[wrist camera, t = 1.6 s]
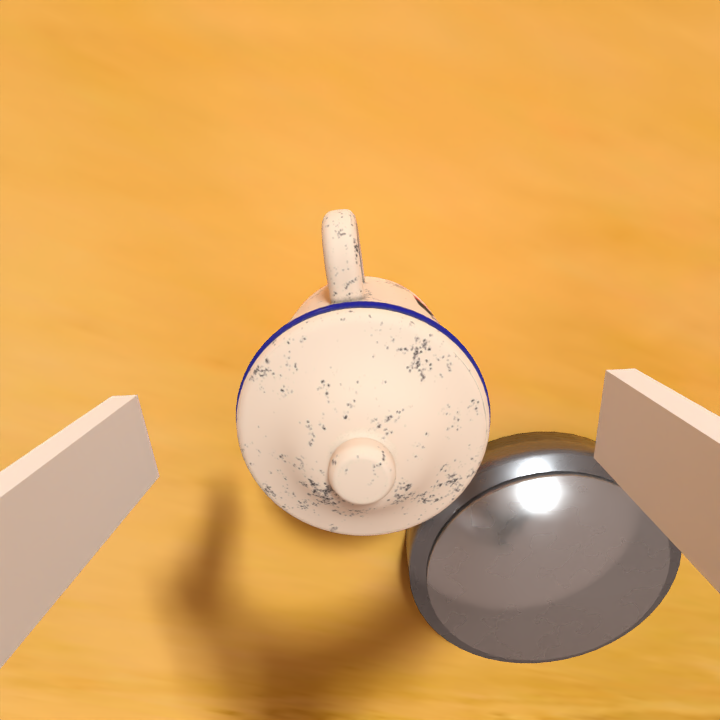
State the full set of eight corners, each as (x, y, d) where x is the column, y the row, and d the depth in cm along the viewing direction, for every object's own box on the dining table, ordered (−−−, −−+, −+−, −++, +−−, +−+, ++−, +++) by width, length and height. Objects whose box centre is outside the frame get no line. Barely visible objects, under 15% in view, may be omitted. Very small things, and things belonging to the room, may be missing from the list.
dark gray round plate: (408, 631, 29) (413, 675, 27) (401, 439, 24) (406, 468, 21) (632, 622, 29) (661, 666, 26) (674, 424, 24) (716, 452, 21)
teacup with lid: (450, 417, 24) (523, 588, 13) (298, 433, 24) (242, 612, 13) (436, 199, 20) (524, 174, 9) (255, 224, 20) (125, 230, 9)
